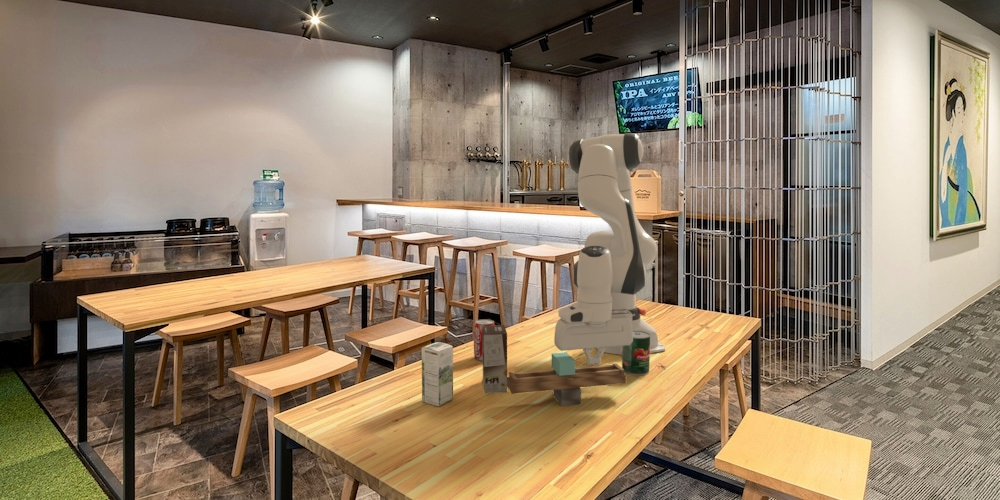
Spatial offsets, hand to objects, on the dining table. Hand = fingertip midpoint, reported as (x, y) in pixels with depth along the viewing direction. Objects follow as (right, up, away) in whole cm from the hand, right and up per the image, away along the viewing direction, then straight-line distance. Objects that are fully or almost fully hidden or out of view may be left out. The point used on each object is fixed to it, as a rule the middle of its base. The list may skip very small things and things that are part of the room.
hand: (593, 363), depth 137 cm
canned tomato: (+16, -7, +21) cm, 27 cm away
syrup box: (-40, -10, -1) cm, 41 cm away
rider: (-8, -3, -2) cm, 9 cm away
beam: (-7, -9, -1) cm, 11 cm away
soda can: (-29, -5, +32) cm, 43 cm away
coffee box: (-25, -8, +8) cm, 28 cm away
